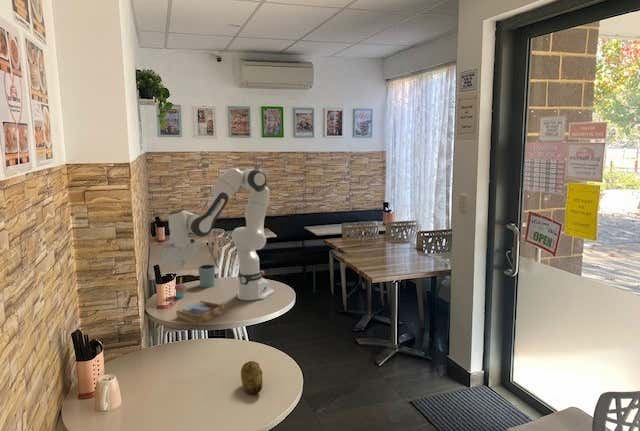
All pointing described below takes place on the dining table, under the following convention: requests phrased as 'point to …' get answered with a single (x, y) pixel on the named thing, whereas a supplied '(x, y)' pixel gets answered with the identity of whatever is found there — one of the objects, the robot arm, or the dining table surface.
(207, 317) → the corral
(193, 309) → the t block
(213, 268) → the grey-blue cup
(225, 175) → the robot arm
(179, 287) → the cupcake
